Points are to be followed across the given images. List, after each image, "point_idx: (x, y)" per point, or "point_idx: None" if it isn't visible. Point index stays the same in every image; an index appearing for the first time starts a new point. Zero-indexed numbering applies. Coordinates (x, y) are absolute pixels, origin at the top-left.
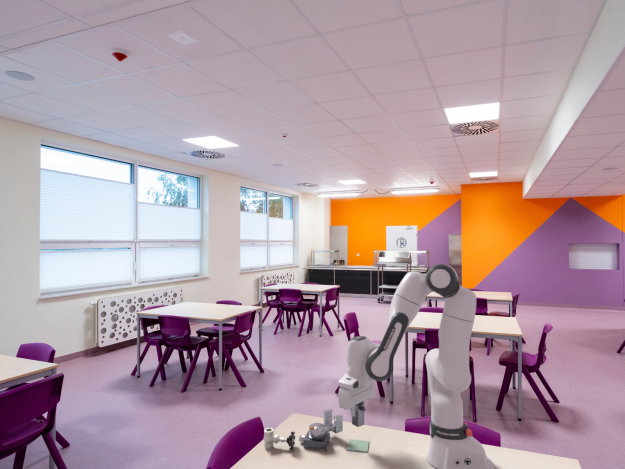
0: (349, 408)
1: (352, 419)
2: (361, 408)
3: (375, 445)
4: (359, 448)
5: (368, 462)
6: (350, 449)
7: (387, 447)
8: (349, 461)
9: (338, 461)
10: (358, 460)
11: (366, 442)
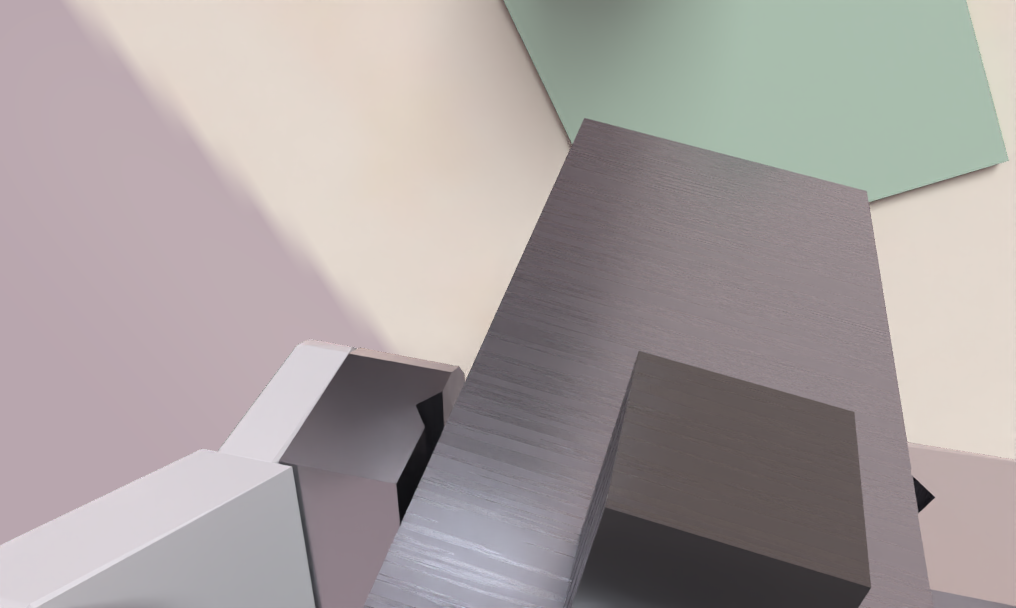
0: (30, 547)
1: (544, 211)
2: None
3: (934, 286)
4: (643, 129)
5: (425, 357)
6: (511, 16)
7: (961, 447)
8: (266, 151)
9: (148, 18)
10: (373, 240)
11: (925, 142)
